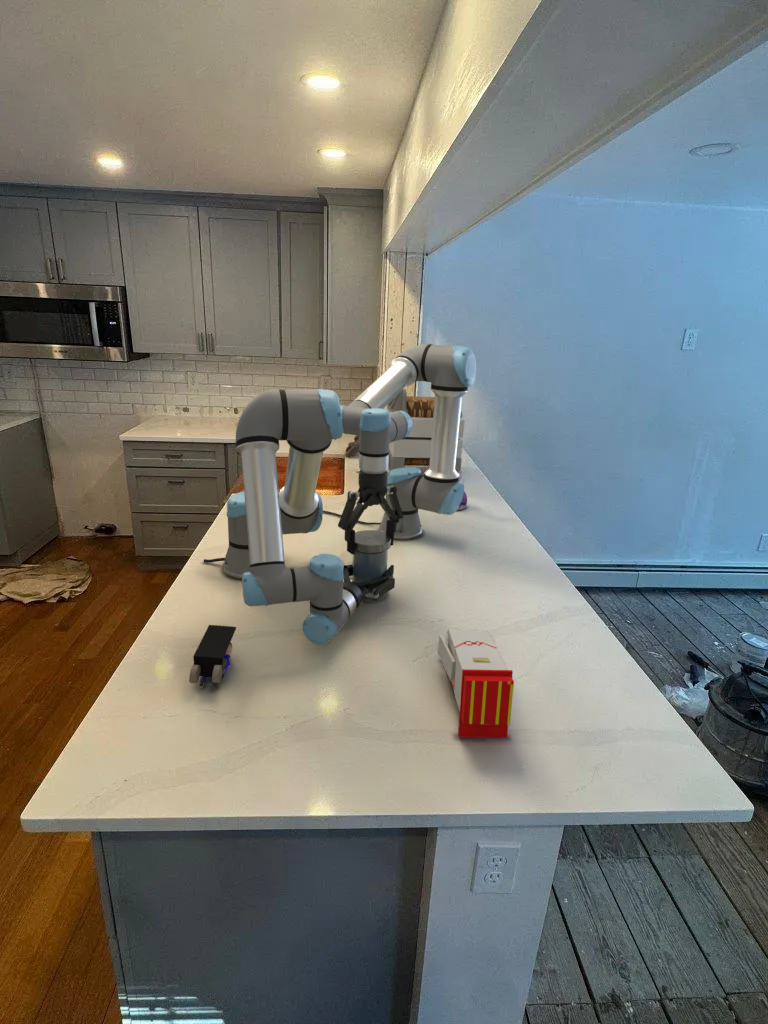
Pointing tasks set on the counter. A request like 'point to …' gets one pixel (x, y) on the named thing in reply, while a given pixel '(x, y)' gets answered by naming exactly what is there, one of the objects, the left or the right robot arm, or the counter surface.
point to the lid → (372, 541)
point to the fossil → (353, 447)
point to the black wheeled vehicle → (212, 654)
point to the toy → (478, 682)
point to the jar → (369, 568)
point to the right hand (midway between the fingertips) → (370, 548)
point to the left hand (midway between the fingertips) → (375, 566)
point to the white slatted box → (417, 433)
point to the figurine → (464, 499)
